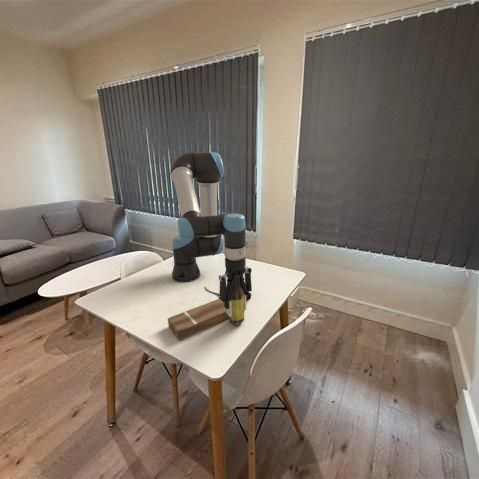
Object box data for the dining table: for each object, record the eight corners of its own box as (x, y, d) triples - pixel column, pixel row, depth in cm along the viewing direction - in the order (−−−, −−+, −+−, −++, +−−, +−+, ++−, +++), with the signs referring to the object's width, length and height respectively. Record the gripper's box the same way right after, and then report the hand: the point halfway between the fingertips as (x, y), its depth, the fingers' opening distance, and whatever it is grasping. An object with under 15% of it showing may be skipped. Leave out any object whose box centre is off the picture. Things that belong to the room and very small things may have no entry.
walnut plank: (168, 327, 101) (167, 318, 100) (228, 303, 117) (228, 295, 116) (179, 341, 94) (178, 331, 92) (242, 313, 109) (241, 304, 108)
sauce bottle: (247, 322, 102) (247, 276, 96) (232, 327, 99) (231, 279, 93) (239, 313, 107) (239, 269, 101) (226, 318, 105) (224, 273, 99)
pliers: (218, 281, 137) (243, 296, 122) (218, 282, 137) (243, 297, 122) (202, 287, 131) (226, 303, 116) (202, 288, 131) (226, 305, 116)
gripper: (218, 266, 87) (220, 325, 94) (261, 253, 97) (261, 307, 105) (206, 260, 92) (210, 316, 100) (249, 248, 103) (249, 299, 110)
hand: (236, 311), depth 102 cm, fingers closed on sauce bottle, 6 cm apart
